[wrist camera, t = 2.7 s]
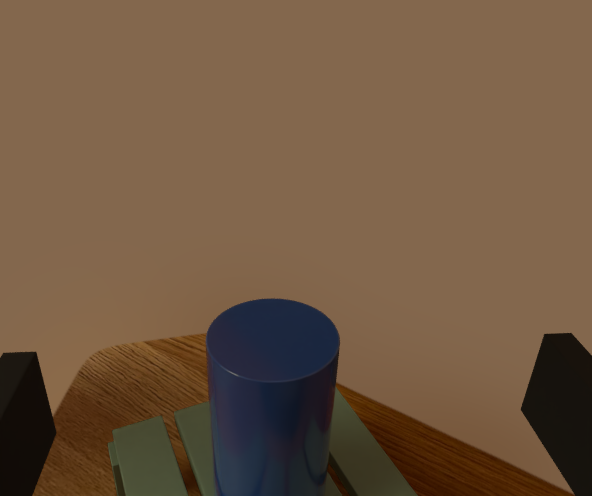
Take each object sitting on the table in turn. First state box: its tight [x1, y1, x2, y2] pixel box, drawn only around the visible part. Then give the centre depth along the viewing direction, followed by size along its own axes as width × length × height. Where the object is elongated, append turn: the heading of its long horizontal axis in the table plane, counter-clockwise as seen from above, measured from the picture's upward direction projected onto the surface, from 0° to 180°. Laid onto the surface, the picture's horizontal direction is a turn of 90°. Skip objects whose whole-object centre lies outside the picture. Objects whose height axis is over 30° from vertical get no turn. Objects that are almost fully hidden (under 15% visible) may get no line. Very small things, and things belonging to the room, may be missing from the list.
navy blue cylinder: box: [206, 299, 340, 496], centre depth 28 cm, size 6×6×11 cm
